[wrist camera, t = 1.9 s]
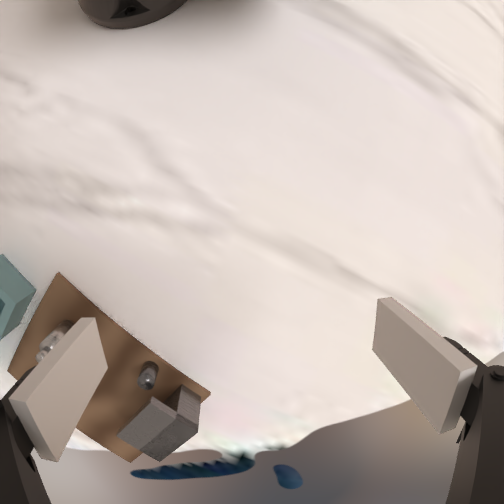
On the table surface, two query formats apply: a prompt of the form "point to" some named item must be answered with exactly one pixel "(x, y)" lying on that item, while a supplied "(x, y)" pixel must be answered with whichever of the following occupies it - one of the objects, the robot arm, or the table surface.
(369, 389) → the table surface
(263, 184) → the table surface
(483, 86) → the table surface
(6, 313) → the link
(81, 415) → the robot arm
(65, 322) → the peg
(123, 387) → the board
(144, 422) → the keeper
